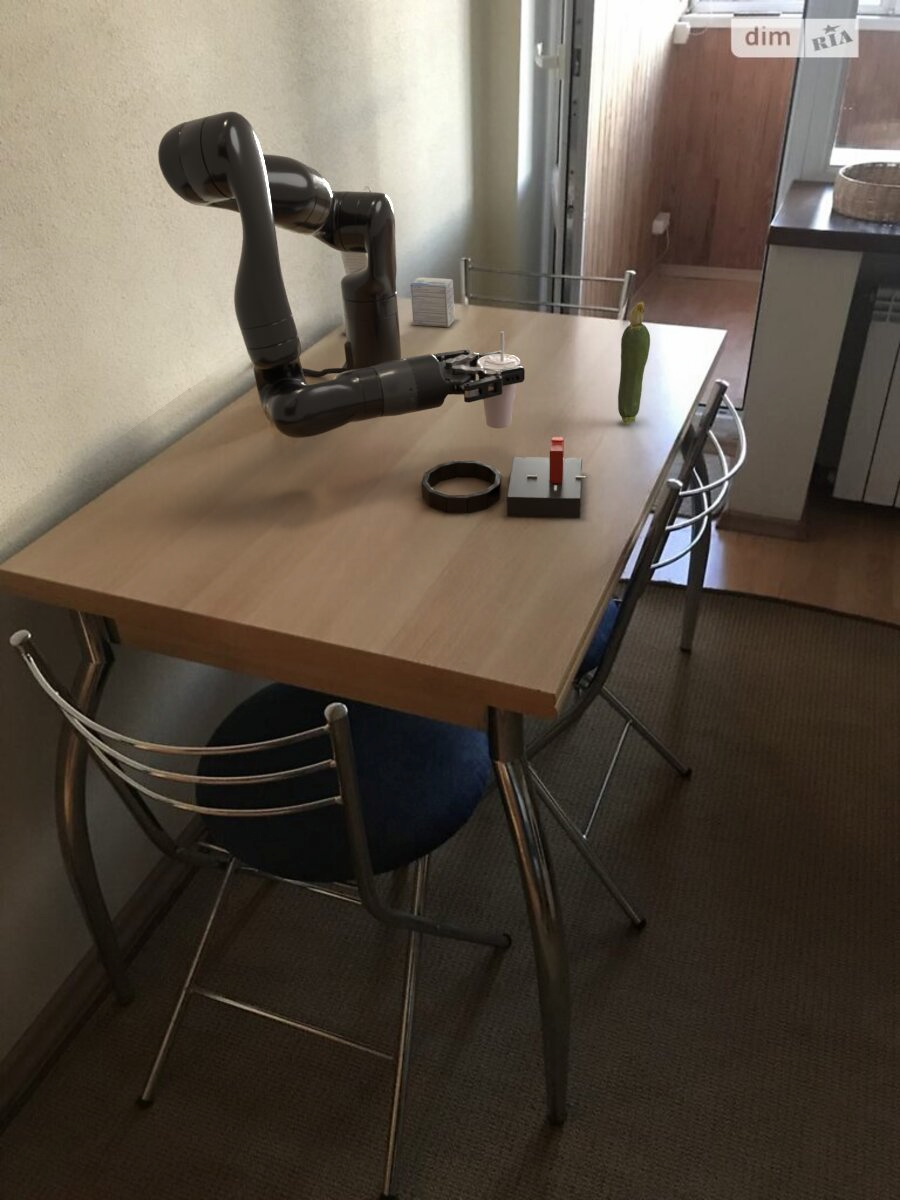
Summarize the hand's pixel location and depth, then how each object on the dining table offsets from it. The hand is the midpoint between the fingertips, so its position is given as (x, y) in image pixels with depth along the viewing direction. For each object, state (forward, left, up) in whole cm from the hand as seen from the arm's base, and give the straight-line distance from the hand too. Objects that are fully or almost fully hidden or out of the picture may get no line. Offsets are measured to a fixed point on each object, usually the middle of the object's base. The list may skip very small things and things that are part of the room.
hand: (512, 365), depth 139 cm
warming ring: (-6, -13, -14) cm, 20 cm away
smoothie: (-2, -1, -9) cm, 9 cm away
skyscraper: (-34, +54, -14) cm, 65 cm away
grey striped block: (-21, +59, -14) cm, 64 cm away
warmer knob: (+7, -13, -11) cm, 19 cm away
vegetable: (+18, +12, -14) cm, 26 cm away
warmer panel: (+6, -13, -14) cm, 20 cm away
